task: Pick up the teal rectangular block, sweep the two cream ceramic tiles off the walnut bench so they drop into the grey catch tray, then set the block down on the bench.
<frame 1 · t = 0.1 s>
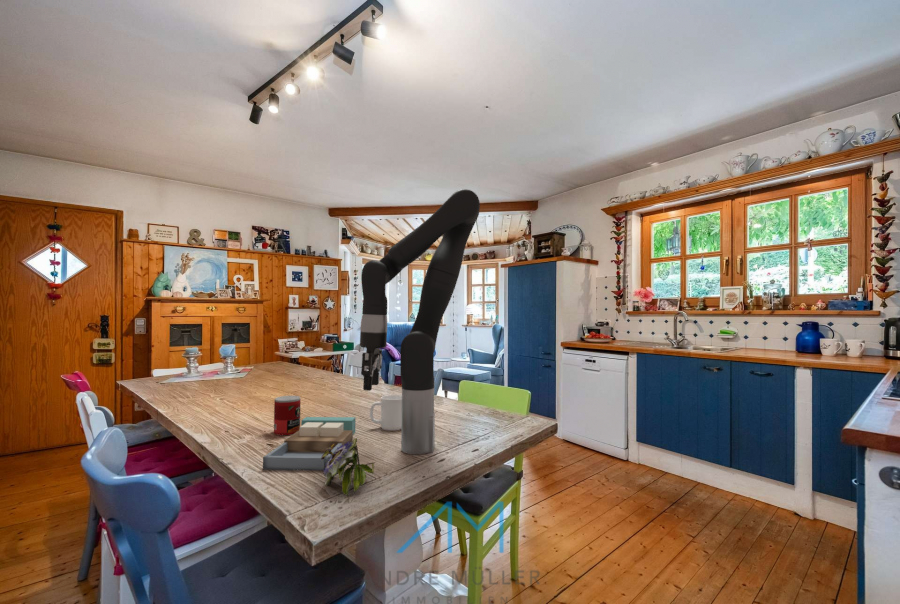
hand: (371, 387, 109), 17 cm above the table, tool pointing down, fingers open, 8 cm apart
teal rectangular block: (328, 434, 122), on the table
tile b: (311, 433, 110), point 3 cm above the table, touching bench
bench: (319, 447, 109), on the table
tile a: (332, 433, 110), point 3 cm above the table, touching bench
cup: (387, 428, 129), on the table
passion flower: (347, 485, 85), on the table
canned food: (286, 432, 123), on the table
catch tray: (304, 461, 98), on the table
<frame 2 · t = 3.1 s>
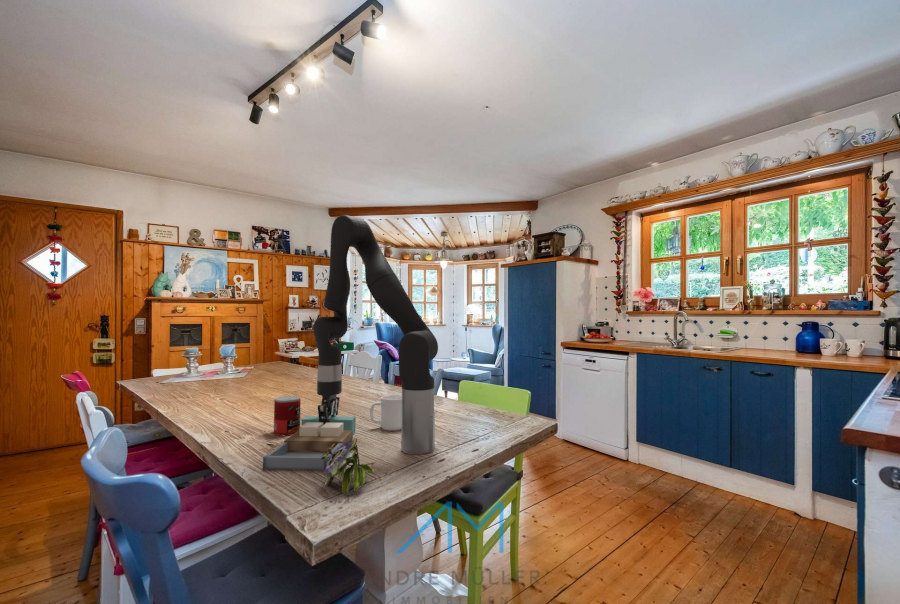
hand: (328, 432, 122), 0 cm above the table, tool pointing down, fingers closed on teal rectangular block, 4 cm apart
teal rectangular block: (328, 433, 122), on the table, touching gripper
everything else where it was.
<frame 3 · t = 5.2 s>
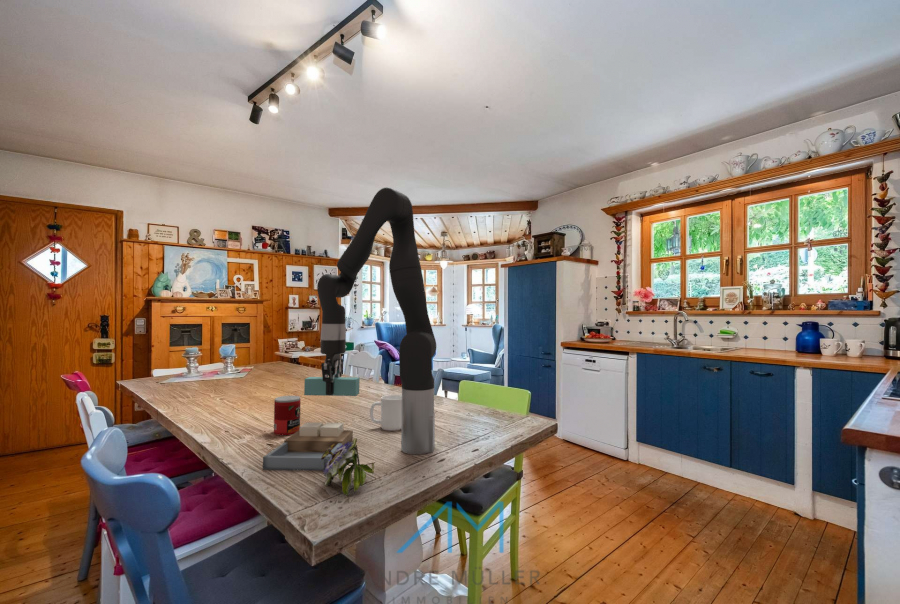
hand: (332, 393, 119), 13 cm above the table, tool pointing down, fingers closed on teal rectangular block, 4 cm apart
teal rectangular block: (332, 394, 119), point 13 cm above the table, touching gripper
everything else where it was.
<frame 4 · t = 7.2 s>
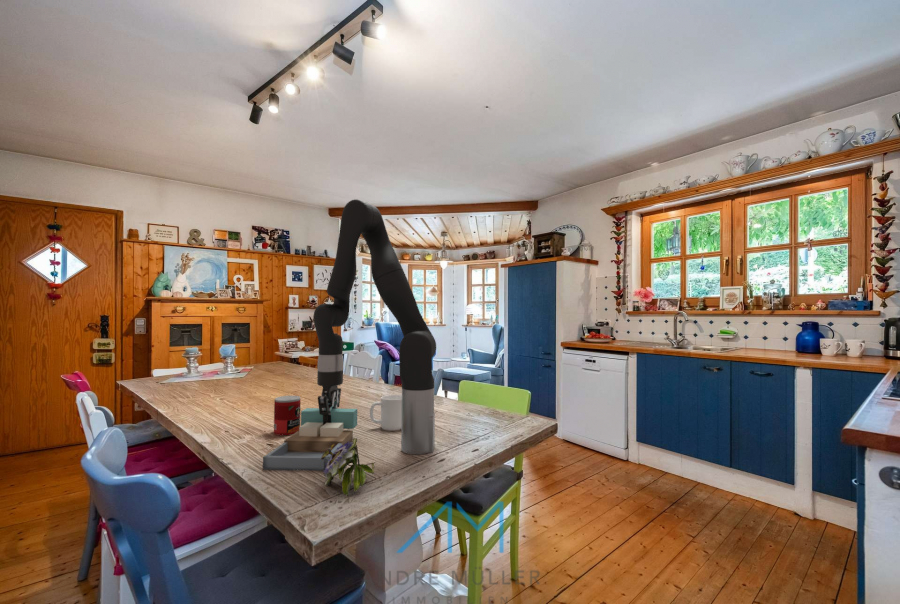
hand: (329, 425, 117), 4 cm above the table, tool pointing down, fingers closed on teal rectangular block, 4 cm apart
teal rectangular block: (329, 426, 116), point 4 cm above the table, touching gripper
tile b: (311, 433, 110), point 4 cm above the table, touching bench, gripper
tile a: (331, 433, 110), point 4 cm above the table, touching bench, gripper
everything else where it was.
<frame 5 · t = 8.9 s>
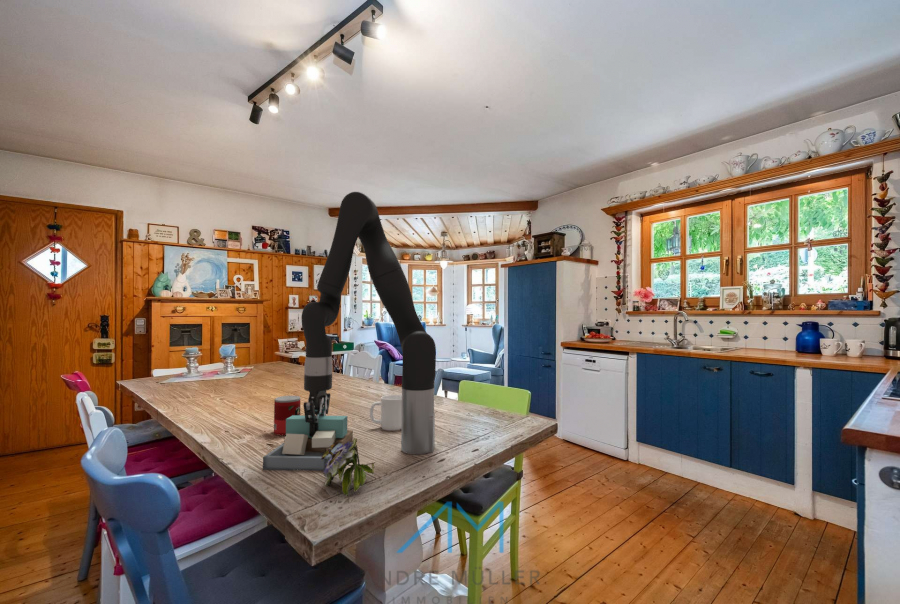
hand: (316, 433, 107), 4 cm above the table, tool pointing down, fingers closed on teal rectangular block, 4 cm apart
teal rectangular block: (316, 435, 107), point 4 cm above the table, touching gripper
tile b: (297, 444, 103), point 3 cm above the table, tilted 67°, touching catch tray
tile a: (324, 443, 102), point 3 cm above the table, tilted 5°, touching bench, gripper
everything else where it was.
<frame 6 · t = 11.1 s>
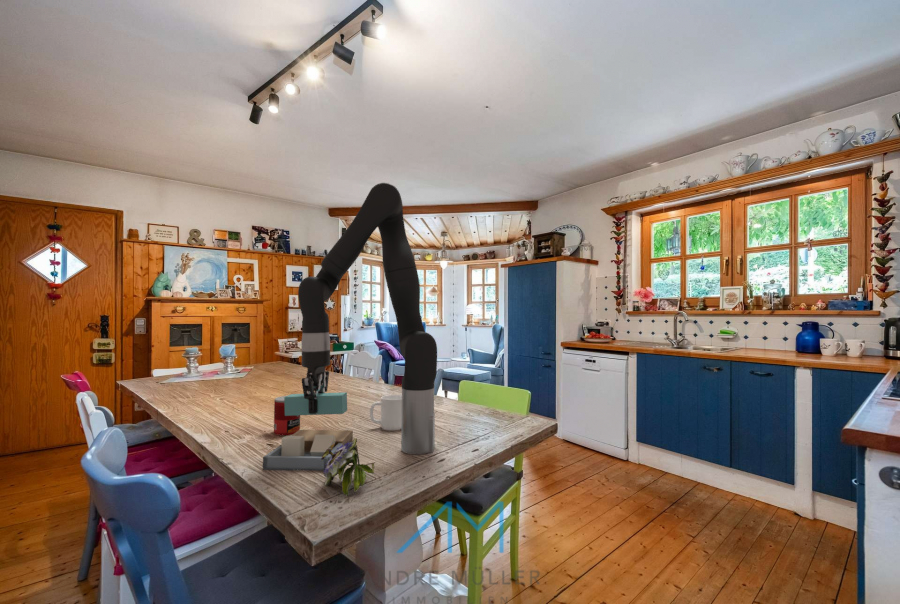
hand: (316, 410, 106), 11 cm above the table, tool pointing down, fingers closed on teal rectangular block, 4 cm apart
teal rectangular block: (316, 412, 106), point 11 cm above the table, touching gripper
tile b: (295, 445, 102), point 3 cm above the table, tilted 90°, touching catch tray
tile a: (324, 448, 102), point 2 cm above the table, tilted 40°, touching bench, catch tray
everything else where it was.
when the fingers open (5 cm above the table, at t = 13.8 s): teal rectangular block stays where it is, resting on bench.
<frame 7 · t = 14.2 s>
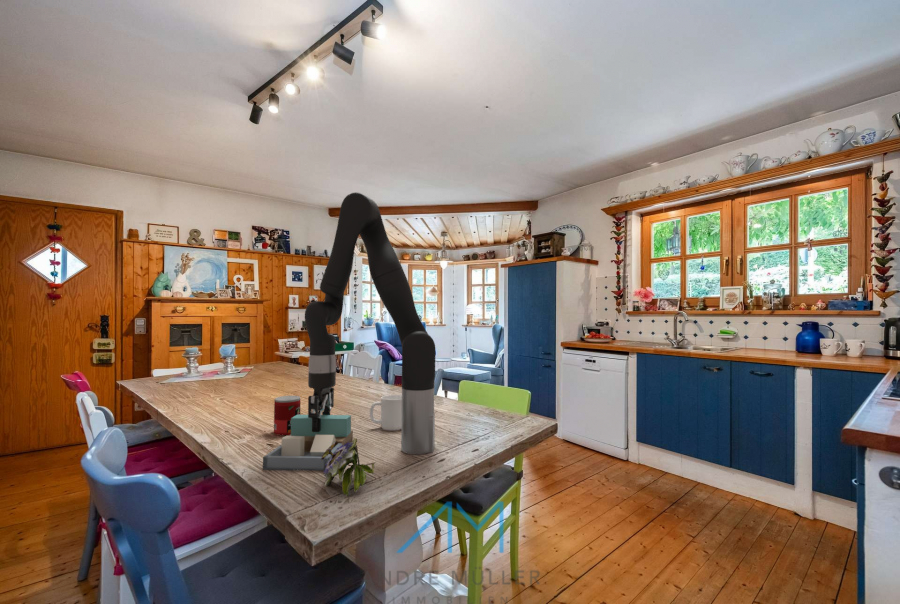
hand: (321, 427, 110), 5 cm above the table, tool pointing down, fingers open, 7 cm apart
teal rectangular block: (321, 434, 110), point 3 cm above the table, touching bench
everything else where it was.
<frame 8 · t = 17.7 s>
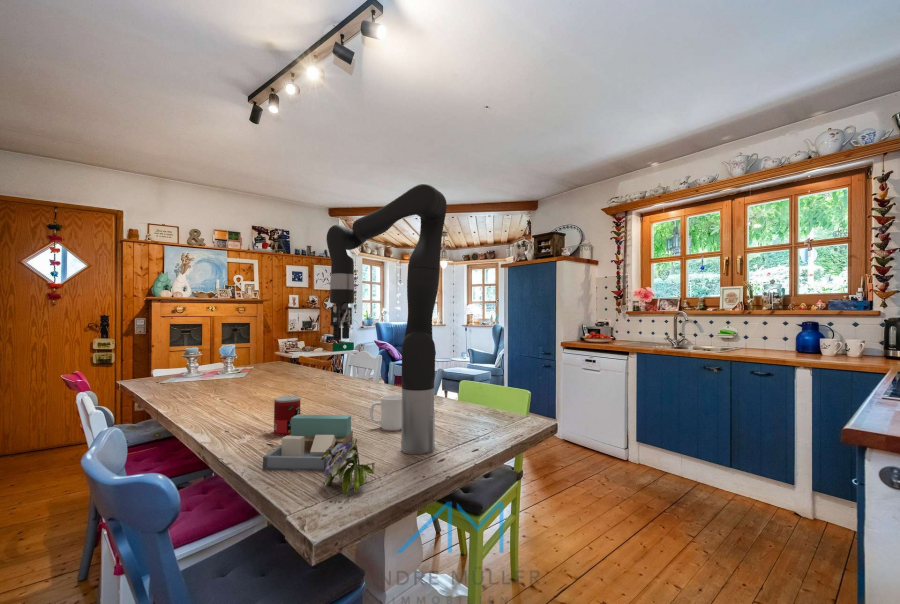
hand: (341, 339, 122), 30 cm above the table, tool pointing down, fingers open, 8 cm apart
nothing on the table moved.
at the end: tile a inside the target area (5.3 cm from its centre), point 2.1 cm above the table; tile b inside the target area (5.1 cm from its centre), point 3.0 cm above the table; the gripper is holding nothing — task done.
